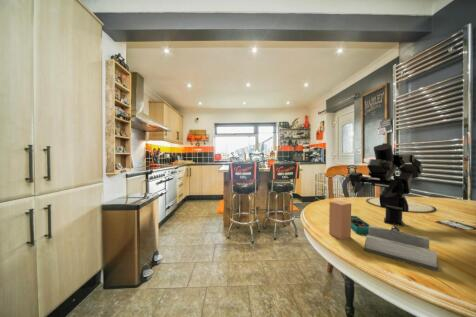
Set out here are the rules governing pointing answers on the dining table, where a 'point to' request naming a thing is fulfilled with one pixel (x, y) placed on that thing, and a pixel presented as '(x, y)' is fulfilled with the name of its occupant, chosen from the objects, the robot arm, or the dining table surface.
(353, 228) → the digital multimeter
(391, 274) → the dining table surface
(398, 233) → the bench vise
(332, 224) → the terracotta block
